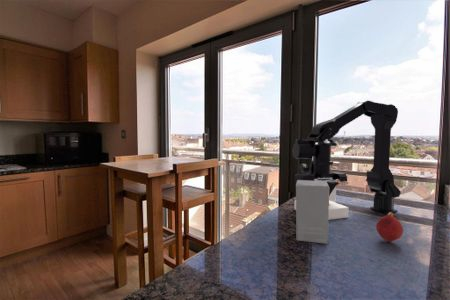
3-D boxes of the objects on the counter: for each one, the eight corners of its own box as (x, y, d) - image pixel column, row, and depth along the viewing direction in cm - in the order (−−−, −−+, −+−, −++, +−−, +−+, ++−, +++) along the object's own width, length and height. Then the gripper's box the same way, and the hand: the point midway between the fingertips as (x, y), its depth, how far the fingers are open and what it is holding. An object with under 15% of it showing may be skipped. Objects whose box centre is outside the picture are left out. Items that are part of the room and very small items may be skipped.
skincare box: (326, 235, 67) (328, 180, 66) (328, 246, 60) (330, 185, 59) (295, 231, 70) (296, 178, 69) (294, 241, 63) (295, 182, 62)
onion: (394, 248, 59) (396, 217, 59) (371, 239, 64) (372, 211, 64) (406, 244, 62) (408, 214, 62) (383, 235, 67) (384, 208, 67)
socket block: (322, 206, 94) (322, 197, 94) (348, 217, 82) (348, 207, 82) (294, 209, 91) (294, 200, 90) (316, 221, 78) (317, 210, 78)
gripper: (327, 156, 95) (325, 194, 96) (286, 156, 90) (285, 197, 91) (349, 158, 85) (347, 201, 86) (305, 160, 79) (303, 205, 80)
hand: (320, 201), depth 86 cm, fingers closed on peg, 4 cm apart
